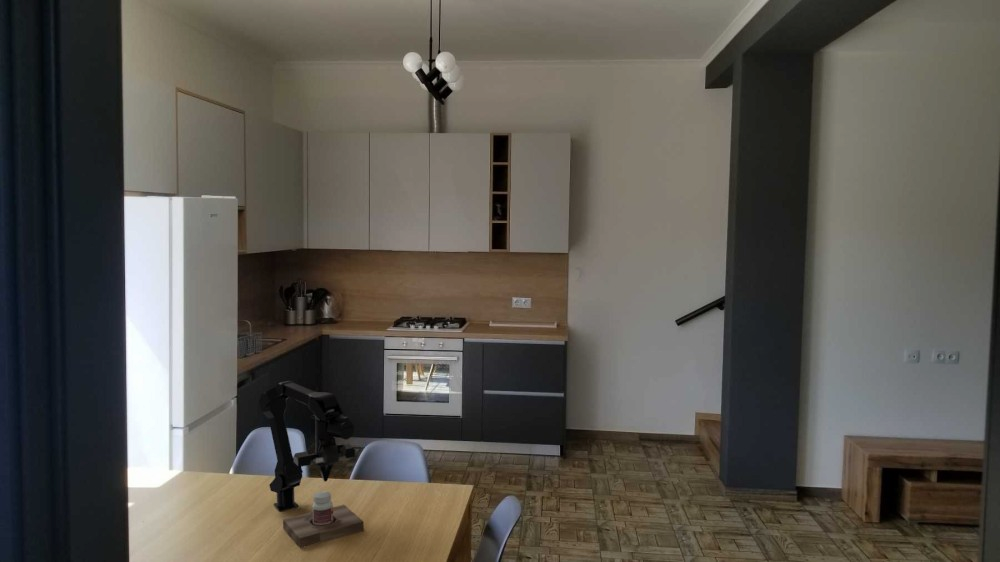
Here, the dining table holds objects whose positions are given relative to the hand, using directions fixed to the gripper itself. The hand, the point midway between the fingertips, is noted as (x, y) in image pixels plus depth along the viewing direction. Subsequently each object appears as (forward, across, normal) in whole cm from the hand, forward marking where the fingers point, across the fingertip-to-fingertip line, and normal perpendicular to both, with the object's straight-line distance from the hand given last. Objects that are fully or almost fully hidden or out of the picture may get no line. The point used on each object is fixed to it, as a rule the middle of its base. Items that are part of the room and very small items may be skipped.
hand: (325, 481), depth 221 cm
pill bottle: (+13, -3, -7) cm, 15 cm away
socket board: (+12, -3, -7) cm, 15 cm away
